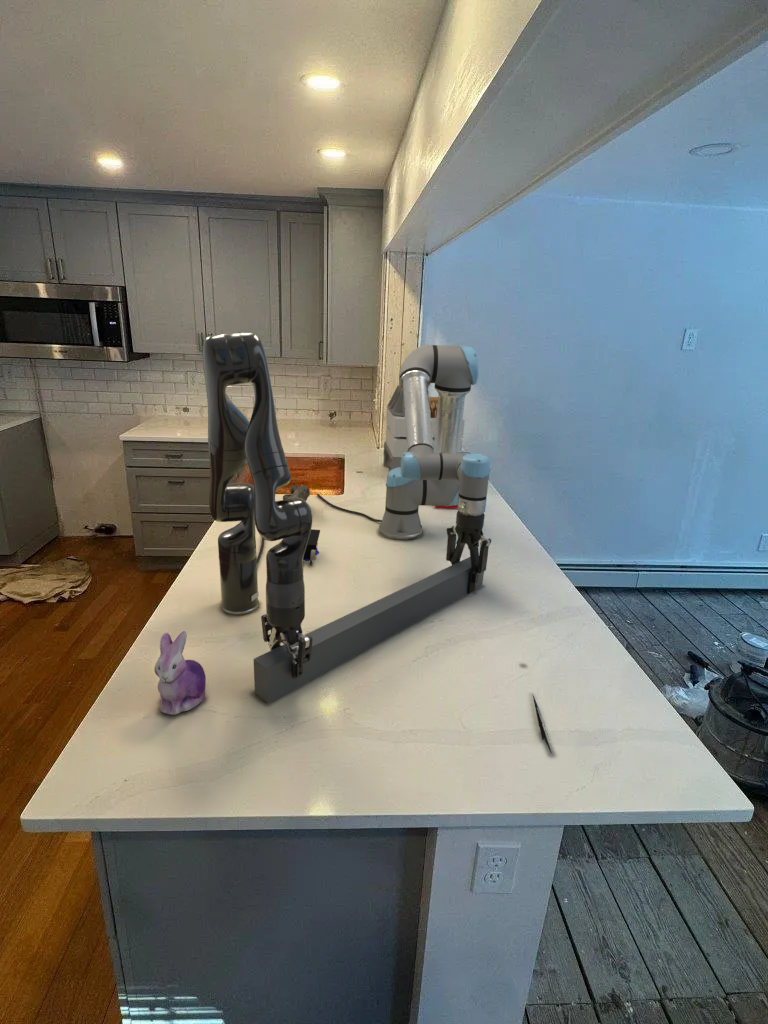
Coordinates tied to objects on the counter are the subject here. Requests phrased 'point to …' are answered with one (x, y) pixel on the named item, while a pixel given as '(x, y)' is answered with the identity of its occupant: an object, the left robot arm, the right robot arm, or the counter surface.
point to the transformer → (403, 428)
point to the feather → (541, 724)
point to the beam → (362, 630)
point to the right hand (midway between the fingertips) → (463, 588)
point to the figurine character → (312, 546)
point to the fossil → (298, 492)
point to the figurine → (178, 677)
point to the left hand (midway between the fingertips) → (286, 669)
